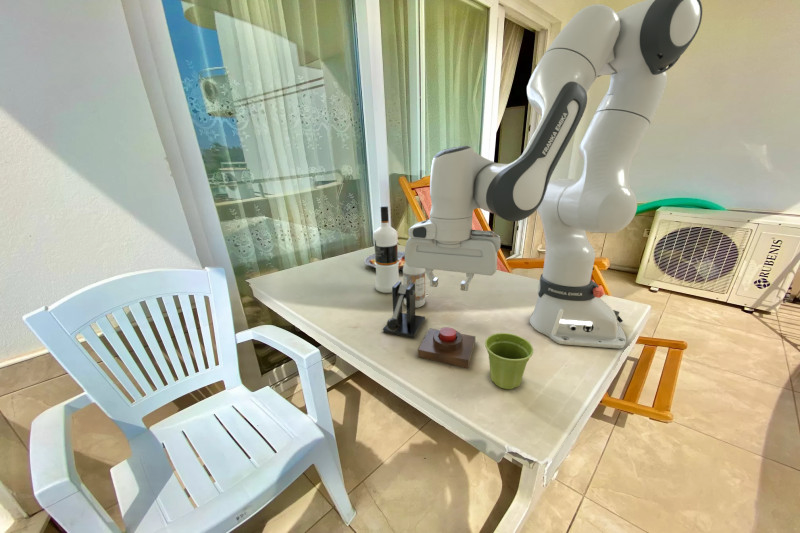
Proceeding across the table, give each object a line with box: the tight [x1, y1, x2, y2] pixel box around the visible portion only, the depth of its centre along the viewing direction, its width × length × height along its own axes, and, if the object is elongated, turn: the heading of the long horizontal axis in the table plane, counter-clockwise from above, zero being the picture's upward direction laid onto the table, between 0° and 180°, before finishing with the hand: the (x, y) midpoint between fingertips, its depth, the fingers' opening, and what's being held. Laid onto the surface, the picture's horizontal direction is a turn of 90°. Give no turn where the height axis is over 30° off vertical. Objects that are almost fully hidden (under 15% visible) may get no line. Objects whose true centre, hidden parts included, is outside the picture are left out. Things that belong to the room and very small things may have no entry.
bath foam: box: [402, 263, 426, 309], centre depth 96 cm, size 7×7×20 cm
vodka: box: [372, 205, 401, 294], centre depth 105 cm, size 9×9×30 cm
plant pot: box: [484, 332, 534, 390], centre depth 64 cm, size 9×9×9 cm
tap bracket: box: [382, 280, 426, 339], centre depth 84 cm, size 10×9×13 cm
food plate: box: [364, 250, 405, 272], centre depth 134 cm, size 25×23×4 cm
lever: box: [386, 283, 408, 331], centre depth 80 cm, size 13×3×3 cm
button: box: [439, 326, 457, 342], centre depth 74 cm, size 4×4×2 cm
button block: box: [417, 327, 476, 369], centre depth 75 cm, size 12×10×4 cm
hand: (449, 287), depth 69 cm, fingers open, 6 cm apart
